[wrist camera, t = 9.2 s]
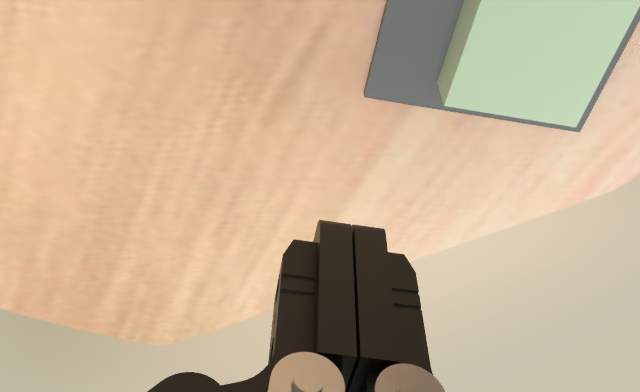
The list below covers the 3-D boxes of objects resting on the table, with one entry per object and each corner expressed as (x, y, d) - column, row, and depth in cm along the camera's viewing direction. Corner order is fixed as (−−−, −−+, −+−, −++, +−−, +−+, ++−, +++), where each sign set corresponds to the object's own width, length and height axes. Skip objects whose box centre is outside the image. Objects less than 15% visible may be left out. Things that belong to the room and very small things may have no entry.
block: (529, -139, 29) (698, -104, 30) (514, -150, 31) (669, -117, 32) (443, 105, 37) (575, 127, 38) (436, 82, 40) (560, 103, 41)
